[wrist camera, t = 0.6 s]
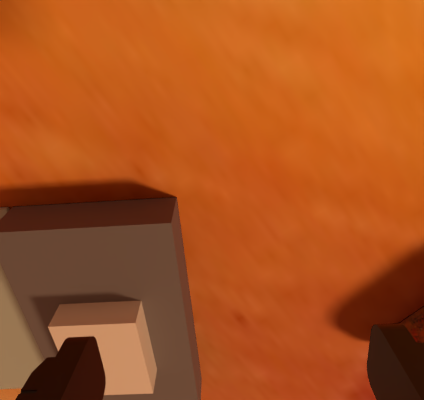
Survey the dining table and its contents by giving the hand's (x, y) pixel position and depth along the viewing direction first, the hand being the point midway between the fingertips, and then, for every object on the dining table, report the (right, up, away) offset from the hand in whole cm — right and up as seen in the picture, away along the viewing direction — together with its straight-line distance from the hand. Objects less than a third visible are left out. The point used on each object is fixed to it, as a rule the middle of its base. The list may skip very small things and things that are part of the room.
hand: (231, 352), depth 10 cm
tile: (-10, -8, +22) cm, 25 cm away
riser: (-10, -6, +25) cm, 28 cm away
